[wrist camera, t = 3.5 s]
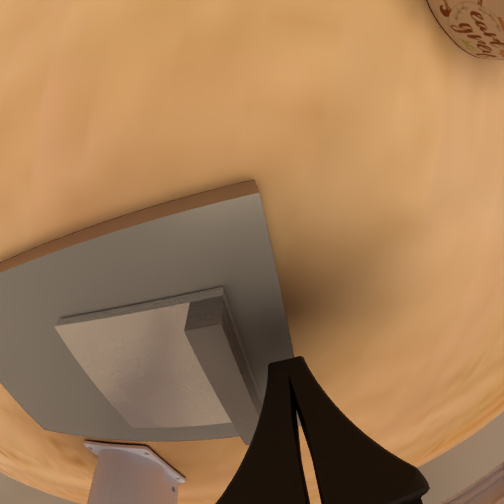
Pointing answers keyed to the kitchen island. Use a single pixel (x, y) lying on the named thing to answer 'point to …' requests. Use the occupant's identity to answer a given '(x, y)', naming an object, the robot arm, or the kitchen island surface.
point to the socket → (137, 302)
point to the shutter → (169, 362)
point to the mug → (473, 25)
